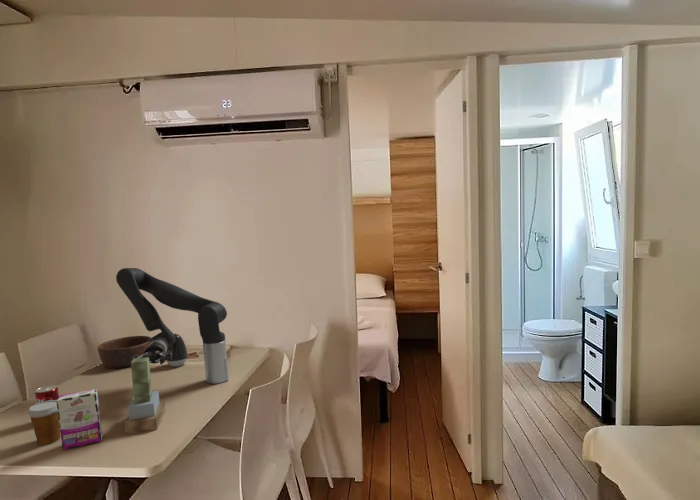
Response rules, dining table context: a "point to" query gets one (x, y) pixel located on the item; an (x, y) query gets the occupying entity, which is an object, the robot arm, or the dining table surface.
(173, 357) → the black egg shape
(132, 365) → the olive block
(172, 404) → the dining table surface
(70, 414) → the candy bar box
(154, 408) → the blue gray tower block
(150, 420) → the tower base
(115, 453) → the dining table surface
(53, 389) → the soda can
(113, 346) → the wooden bowl
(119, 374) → the dining table surface
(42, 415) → the disposable coffee cup
